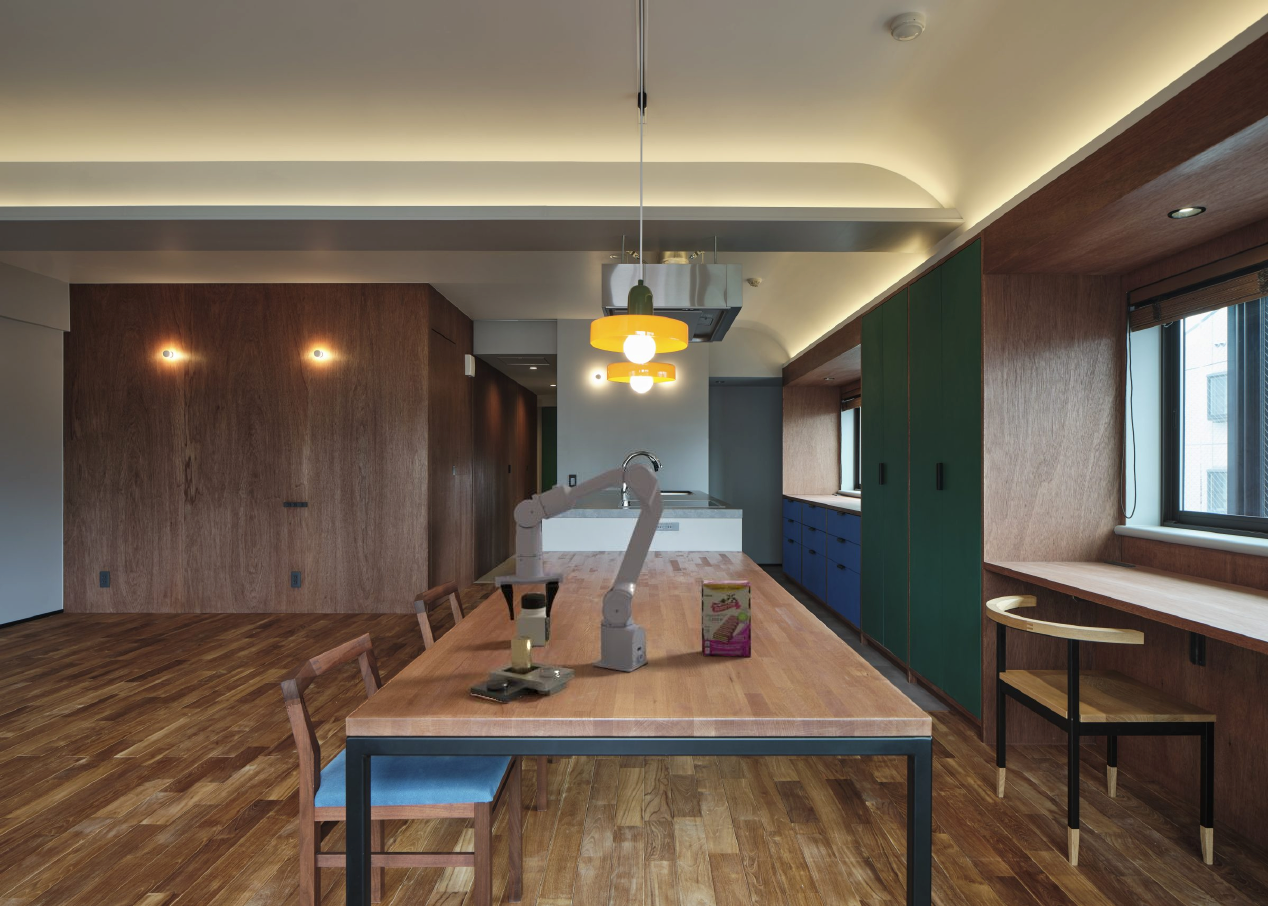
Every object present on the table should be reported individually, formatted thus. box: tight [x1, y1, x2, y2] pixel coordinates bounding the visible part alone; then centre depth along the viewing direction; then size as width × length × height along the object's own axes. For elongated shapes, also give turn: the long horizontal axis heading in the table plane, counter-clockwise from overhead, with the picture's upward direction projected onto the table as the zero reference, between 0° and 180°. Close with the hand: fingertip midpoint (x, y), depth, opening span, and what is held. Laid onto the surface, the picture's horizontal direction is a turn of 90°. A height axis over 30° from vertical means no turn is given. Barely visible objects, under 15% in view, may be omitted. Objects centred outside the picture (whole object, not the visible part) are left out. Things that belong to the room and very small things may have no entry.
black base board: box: [470, 679, 536, 704], centre depth 125 cm, size 14×9×2 cm, turn 150°
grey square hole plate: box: [488, 661, 575, 696], centre depth 126 cm, size 14×9×4 cm, turn 60°
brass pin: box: [510, 636, 533, 675], centre depth 128 cm, size 4×4×9 cm
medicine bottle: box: [516, 592, 551, 647], centre depth 159 cm, size 7×7×12 cm
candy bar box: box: [701, 579, 752, 658], centre depth 146 cm, size 11×5×16 cm, turn 84°
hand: (530, 618), depth 139 cm, fingers open, 7 cm apart
